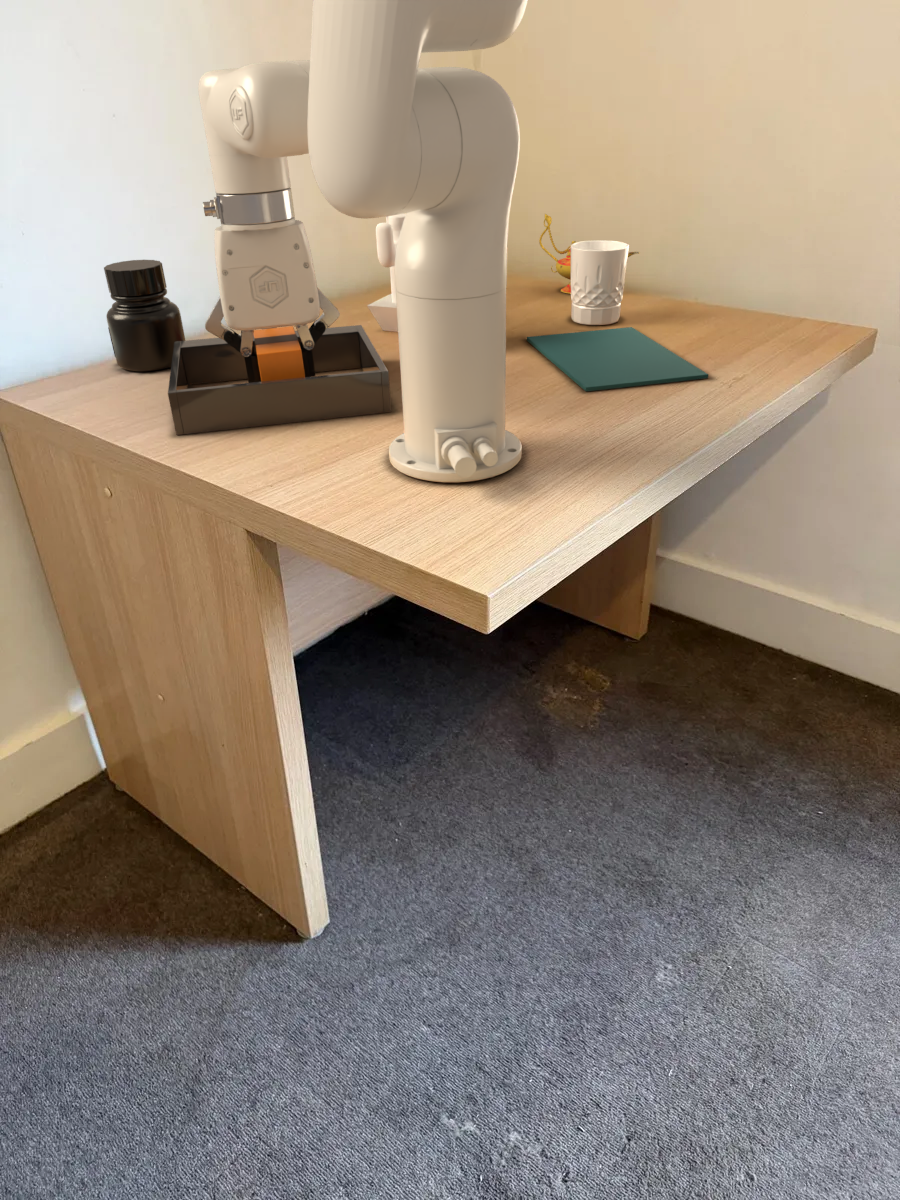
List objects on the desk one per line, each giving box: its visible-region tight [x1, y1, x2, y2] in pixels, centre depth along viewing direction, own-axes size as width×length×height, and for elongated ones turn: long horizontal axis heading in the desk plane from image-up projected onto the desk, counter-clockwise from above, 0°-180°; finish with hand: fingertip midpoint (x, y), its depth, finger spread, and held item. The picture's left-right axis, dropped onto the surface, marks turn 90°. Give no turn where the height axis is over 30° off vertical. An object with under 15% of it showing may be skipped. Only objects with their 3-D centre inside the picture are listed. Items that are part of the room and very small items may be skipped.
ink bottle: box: [103, 259, 186, 372], centre depth 109 cm, size 10×9×12 cm
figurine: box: [366, 213, 406, 333], centre depth 119 cm, size 7×9×15 cm
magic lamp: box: [538, 213, 641, 295], centre depth 136 cm, size 7×18×11 cm, turn 52°
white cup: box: [570, 239, 630, 326], centre depth 121 cm, size 8×8×10 cm
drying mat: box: [526, 326, 709, 392], centre depth 108 cm, size 22×15×1 cm
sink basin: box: [167, 324, 392, 436], centre depth 96 cm, size 20×23×15 cm
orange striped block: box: [254, 326, 305, 382], centre depth 96 cm, size 11×5×5 cm, turn 13°
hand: (282, 384), depth 97 cm, fingers closed on orange striped block, 4 cm apart
